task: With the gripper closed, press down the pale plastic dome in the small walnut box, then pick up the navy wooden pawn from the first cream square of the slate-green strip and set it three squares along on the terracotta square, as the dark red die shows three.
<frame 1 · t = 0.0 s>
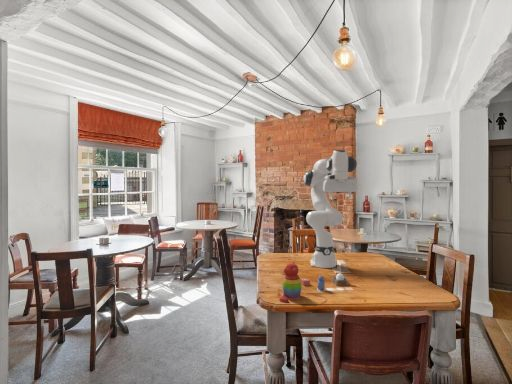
hand: (340, 199, 177), 48 cm above the table, tool pointing down, fingers open, 8 cm apart
stacking bear: (291, 299, 147), on the table
dome: (340, 277, 166), point 5 cm above the table, slide at 0.0 cm
track: (335, 291, 157), on the table
die: (305, 286, 165), on the table
popper box: (340, 285, 166), on the table
pawn: (321, 289, 156), point 1 cm above the table, touching track
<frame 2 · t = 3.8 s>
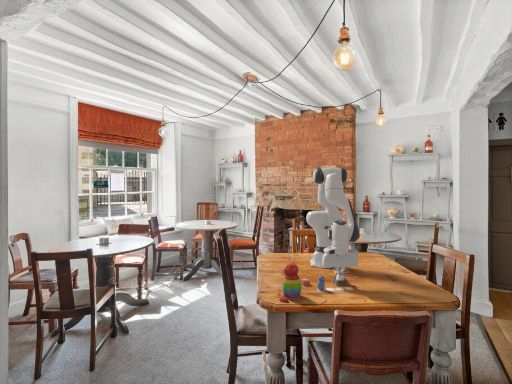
hand: (340, 274, 166), 7 cm above the table, tool pointing down, fingers closed, pressing on dome
dome: (340, 278, 166), point 4 cm above the table, slide at 0.5 cm, touching gripper
everything else where it was.
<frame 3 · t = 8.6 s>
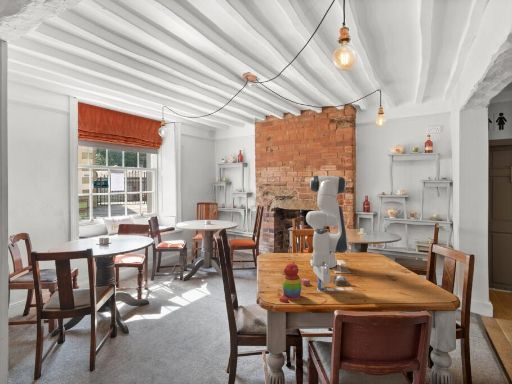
hand: (321, 285, 156), 3 cm above the table, tool pointing down, fingers closed on pawn, 4 cm apart
dome: (340, 279, 166), point 3 cm above the table, slide at 1.4 cm
pawn: (321, 289, 156), point 1 cm above the table, touching gripper, track
everything else where it was.
when the fingers open (5 cm above the table, at t = 13.2 s): pawn drops 1 cm, resting on track.
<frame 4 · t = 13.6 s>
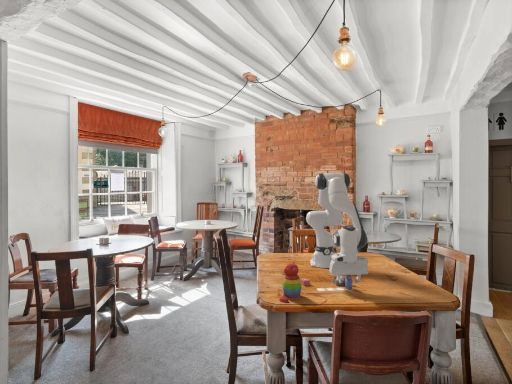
hand: (348, 282, 157), 5 cm above the table, tool pointing down, fingers open, 7 cm apart
pawn: (348, 288, 157), point 1 cm above the table, touching track
everything else where it was.
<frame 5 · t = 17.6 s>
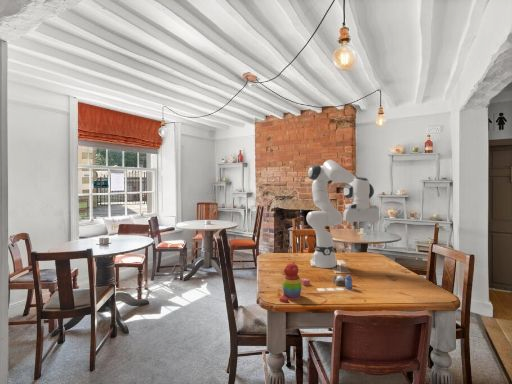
hand: (361, 229, 170), 31 cm above the table, tool pointing down, fingers open, 8 cm apart
nothing on the table moved.
at the end: pawn 0.0 cm from the target spot, point 1.4 cm above the table; pawn tilted 1°; dome slide at 1.4 cm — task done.
